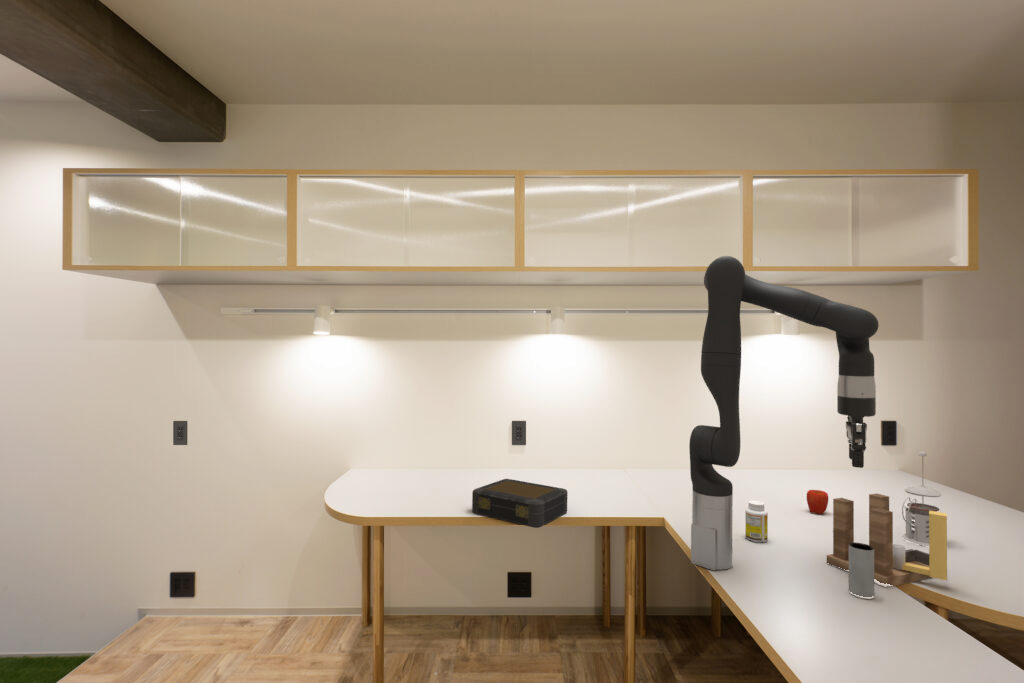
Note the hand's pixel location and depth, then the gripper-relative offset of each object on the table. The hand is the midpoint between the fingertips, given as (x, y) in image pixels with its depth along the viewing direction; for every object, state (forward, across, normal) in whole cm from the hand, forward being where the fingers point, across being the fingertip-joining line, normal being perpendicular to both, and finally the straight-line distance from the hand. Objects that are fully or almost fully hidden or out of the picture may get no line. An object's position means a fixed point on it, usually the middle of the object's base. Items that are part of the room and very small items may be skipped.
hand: (856, 463), depth 121 cm
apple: (+28, +50, +7) cm, 57 cm away
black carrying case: (+26, -2, +89) cm, 93 cm away
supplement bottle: (+27, +12, +22) cm, 36 cm away
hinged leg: (+24, +1, -12) cm, 27 cm away
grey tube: (+26, -13, 0) cm, 29 cm away
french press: (+28, +35, -18) cm, 48 cm away
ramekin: (+29, +59, -22) cm, 69 cm away
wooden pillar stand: (+26, +5, -5) cm, 27 cm away
